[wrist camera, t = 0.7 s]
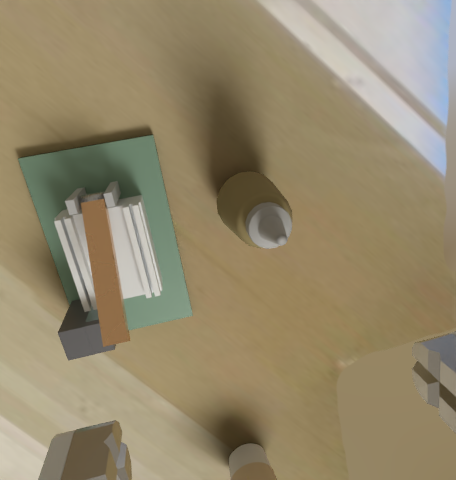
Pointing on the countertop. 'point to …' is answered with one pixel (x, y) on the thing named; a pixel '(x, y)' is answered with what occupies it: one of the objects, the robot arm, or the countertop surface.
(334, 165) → the countertop surface
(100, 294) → the strap
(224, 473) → the countertop surface
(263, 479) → the coffee cup
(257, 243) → the squeeze bottle
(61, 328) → the block
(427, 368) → the robot arm
